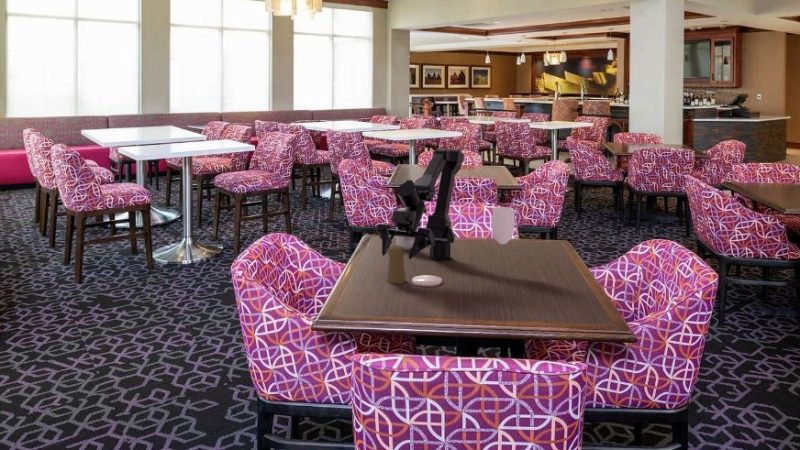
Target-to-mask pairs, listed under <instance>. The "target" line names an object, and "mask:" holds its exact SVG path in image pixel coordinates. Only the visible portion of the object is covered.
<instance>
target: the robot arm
mask: <svg viewBox="0 0 800 450" xmlns="http://www.w3.org/2000/svg"><path fill="white" fill-rule="evenodd" d="M464 160H465V156H464V153H463V152H462V151H461V149H456V148H455V149H454V148H453V149H452V148H443V149H441V148H440V149H439V148H438V149H437V148H436V149H434V150H433V153H432V157H431V159H430V161H429V162H428V165H427V166H426V168H425V171H424V172H423V174H422V176H420V177H418V178H416V179H415V180H411V179H406V181H405V182H403V183H401V184H400V185H399V186H398V187H397V188H396V194H397V196H398V197H399V199H400V201H401V203H402V205H403V206H404V207H405V208H406V210H405V212H403V211H398V210H393V212H392V215H391V220H390V221H391V222H393V223H394V226H395V229H394V228H392V226H391V225H390V224H388V223H378V224H377V225H376V226H375V232H376V233H377V235H378V236H379V239H380V240H381V255H382V256H383V257H384V256H385V255H386V254H388V249H389V247H391V246H392V243H393V241H392V240H394V238H395V237H396V236H402V237H408V238H412V239H414V242H413V243H412V247H411V249H410V251H409V255H408V260H412V258H414V257H416V255H418V253H420V252H422V251H423V250H424V249H426V248H429V255H428V256H427V257H428V258H429V259H432V260H434V261H437V262H438V261H439V262H440V261H448V260H453V259H454V258H453V257H452V256H451V244H452V243H453V244H454V242H455V240H456V234H455V233H454V231H453V228H452V221H451V219H450V216H449V213H450V207H451V206H450V205H451V200H452V196H453V188H454V182H455V178H456V175H457V173H458V172H460V170H461V169H462V166H463V165H462V164H463V162H464ZM439 176H440V179H439ZM437 180H440V181H439V184H438V185H439V186H438V192H437V197H436V203H435V208H434V212H433V213H432V214H429V215H428V217H427V222H426V225H425V227H421V225H422V223H421V220H422V217H423V215H424V214H427V212H428V211H427V207H426V204H425V202H431V201H432V200H433V199H434V198H435V195H436V191H437V190H436V183H437ZM396 227H398V229H396Z"/></svg>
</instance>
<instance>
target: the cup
mask: <svg viewBox="0 0 800 450" xmlns="http://www.w3.org/2000/svg"><path fill="white" fill-rule="evenodd" d="M491 217H492V220H491V229H492V235H493V238H494V240H495V241H496V242H497V243H498V244H500V245H505V244H508V242H509V241H511V240H512V237H513V235H514V230H515V213H514V208H513V207H508V206H496V207H493V213H492V216H491Z"/></svg>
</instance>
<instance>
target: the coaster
mask: <svg viewBox="0 0 800 450" xmlns="http://www.w3.org/2000/svg"><path fill="white" fill-rule="evenodd" d="M442 280H443V278H441V277H439V276H436V275H425V274H423V275H418V276H417V275H416V276H413V277H412V282H411V283H412V284H413V285H415V286H419V287H437V286H439V285H440V286H441V284H442V283H443V281H442Z"/></svg>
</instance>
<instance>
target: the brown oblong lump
mask: <svg viewBox="0 0 800 450" xmlns="http://www.w3.org/2000/svg"><path fill="white" fill-rule="evenodd" d="M405 252H406V250H405V249H404V247H402V246H396V245H390V247H389V249H388V251H387V254H388V256H389V260H388V268H387V276H386V282H387V283H390V284H404V283H406V282H407V277H406V268H405V262H404V261H405V260H404V256H405V254H406V253H405Z"/></svg>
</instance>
